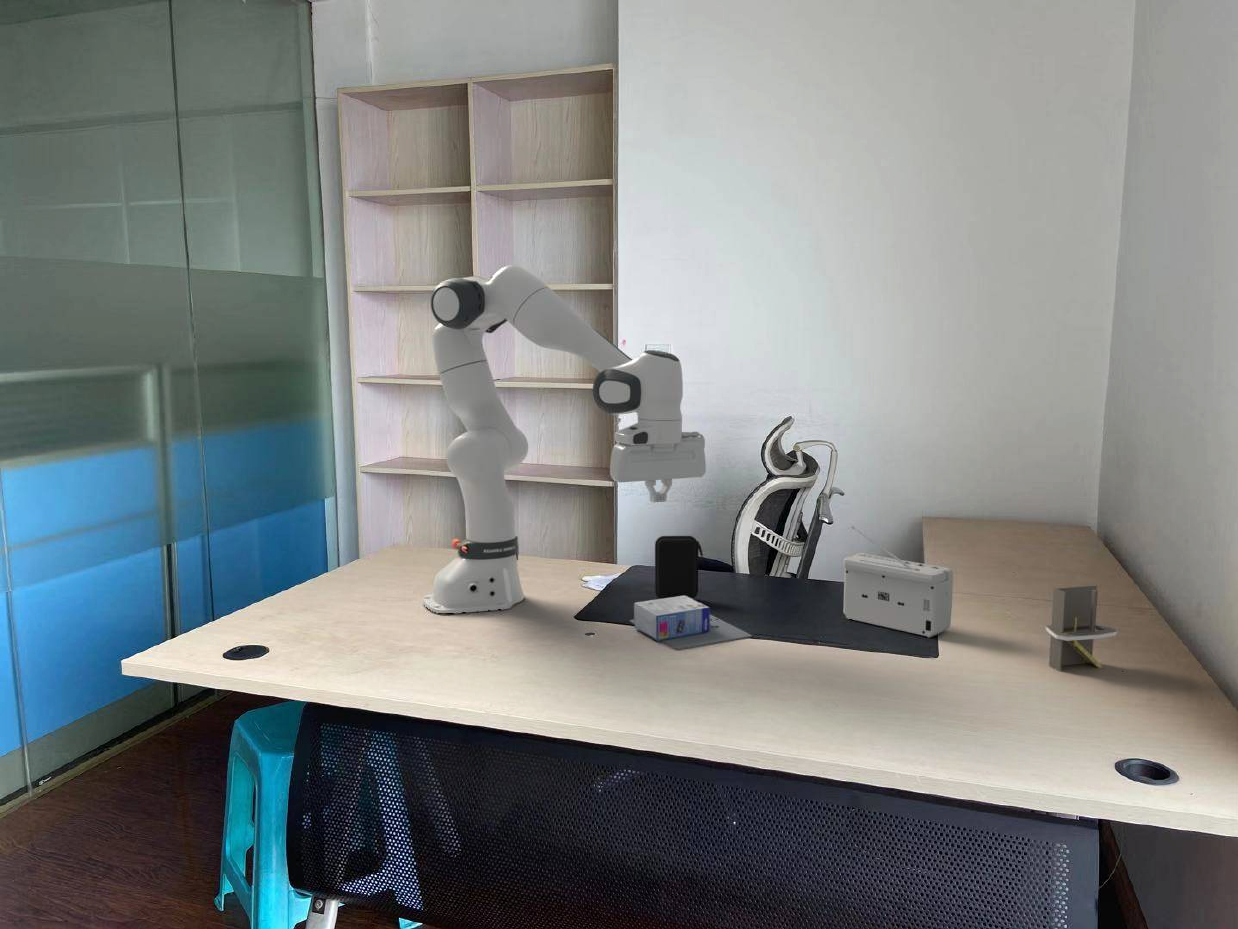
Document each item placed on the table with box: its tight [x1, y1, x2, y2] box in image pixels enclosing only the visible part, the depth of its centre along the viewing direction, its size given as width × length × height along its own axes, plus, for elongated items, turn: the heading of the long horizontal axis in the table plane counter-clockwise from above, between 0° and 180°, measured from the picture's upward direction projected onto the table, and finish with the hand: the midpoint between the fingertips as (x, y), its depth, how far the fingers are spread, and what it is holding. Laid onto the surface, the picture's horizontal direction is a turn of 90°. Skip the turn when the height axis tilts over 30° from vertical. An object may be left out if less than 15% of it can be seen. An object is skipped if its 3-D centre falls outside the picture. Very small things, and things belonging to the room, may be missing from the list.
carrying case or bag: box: [654, 535, 704, 600], centre depth 209 cm, size 11×3×15 cm, turn 90°
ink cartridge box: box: [633, 596, 712, 641], centre depth 188 cm, size 10×6×14 cm
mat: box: [628, 614, 753, 651], centre depth 189 cm, size 17×20×1 cm
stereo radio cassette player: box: [842, 525, 954, 639], centre depth 190 cm, size 21×8×20 cm, turn 47°
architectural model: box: [1045, 584, 1118, 672], centre depth 166 cm, size 20×25×15 cm
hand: (658, 501), depth 188 cm, fingers closed
